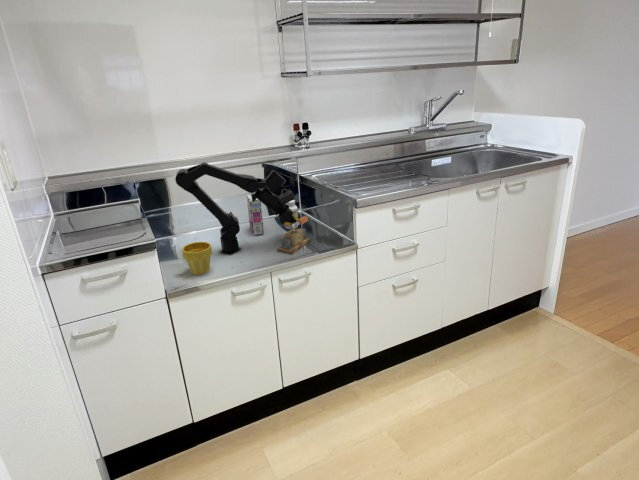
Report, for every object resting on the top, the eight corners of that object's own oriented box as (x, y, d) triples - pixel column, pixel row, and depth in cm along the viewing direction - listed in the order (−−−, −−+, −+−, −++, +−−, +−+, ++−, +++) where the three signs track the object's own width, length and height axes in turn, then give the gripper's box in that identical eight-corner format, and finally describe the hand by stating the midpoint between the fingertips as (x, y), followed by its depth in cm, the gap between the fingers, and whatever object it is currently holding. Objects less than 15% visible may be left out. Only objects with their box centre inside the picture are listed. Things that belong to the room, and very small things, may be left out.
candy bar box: (264, 234, 185) (260, 199, 179) (253, 236, 184) (249, 201, 177) (260, 226, 195) (256, 193, 189) (249, 228, 194) (245, 194, 187)
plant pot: (218, 272, 151) (214, 247, 147) (190, 279, 146) (185, 254, 143) (210, 262, 159) (206, 239, 156) (183, 269, 155) (178, 245, 151)
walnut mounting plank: (291, 254, 163) (291, 251, 162) (277, 251, 166) (276, 248, 166) (310, 241, 175) (310, 238, 174) (297, 238, 178) (296, 235, 177)
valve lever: (293, 229, 166) (293, 224, 165) (288, 228, 167) (288, 224, 166) (308, 220, 174) (308, 216, 174) (303, 219, 176) (303, 215, 175)
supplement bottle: (281, 228, 191) (279, 202, 186) (289, 224, 196) (287, 198, 192) (294, 230, 188) (292, 203, 183) (301, 225, 194) (299, 199, 189)
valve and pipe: (289, 250, 163) (288, 234, 161) (279, 248, 165) (278, 232, 163) (307, 238, 174) (306, 223, 172) (298, 236, 177) (297, 221, 174)
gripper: (287, 190, 157) (315, 215, 163) (278, 179, 173) (304, 202, 180) (267, 211, 158) (296, 235, 164) (261, 199, 174) (287, 221, 181)
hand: (296, 222), depth 172 cm, fingers closed
